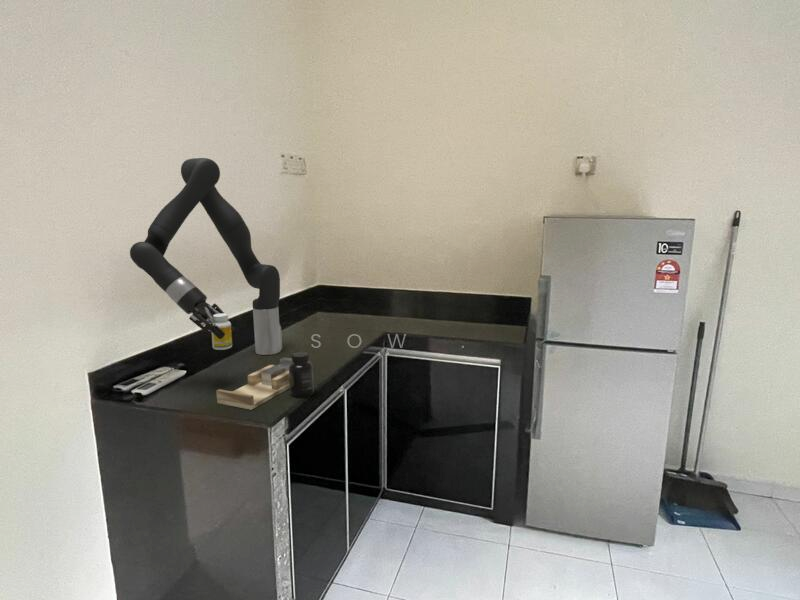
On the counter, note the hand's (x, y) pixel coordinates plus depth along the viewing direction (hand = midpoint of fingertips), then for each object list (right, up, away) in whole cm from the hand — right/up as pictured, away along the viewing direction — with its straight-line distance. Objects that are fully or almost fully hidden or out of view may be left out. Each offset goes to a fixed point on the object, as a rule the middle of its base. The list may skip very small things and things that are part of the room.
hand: (227, 334), depth 145 cm
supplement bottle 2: (+24, -17, -4) cm, 30 cm away
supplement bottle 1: (-2, -4, +1) cm, 5 cm away
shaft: (+15, -14, +5) cm, 21 cm away
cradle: (+11, -17, -3) cm, 20 cm away
